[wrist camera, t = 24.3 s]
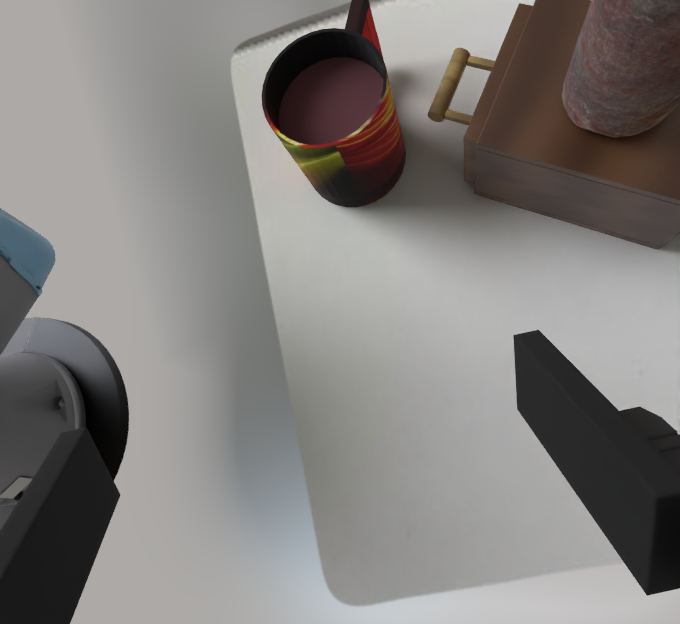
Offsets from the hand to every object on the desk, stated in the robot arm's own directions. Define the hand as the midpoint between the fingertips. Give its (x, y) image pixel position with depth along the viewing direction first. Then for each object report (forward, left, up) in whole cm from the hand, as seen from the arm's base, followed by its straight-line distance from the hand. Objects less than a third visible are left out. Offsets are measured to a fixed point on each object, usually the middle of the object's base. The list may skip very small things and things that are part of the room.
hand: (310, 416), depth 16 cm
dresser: (+6, +26, -30) cm, 40 cm away
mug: (-15, +21, -30) cm, 40 cm away
